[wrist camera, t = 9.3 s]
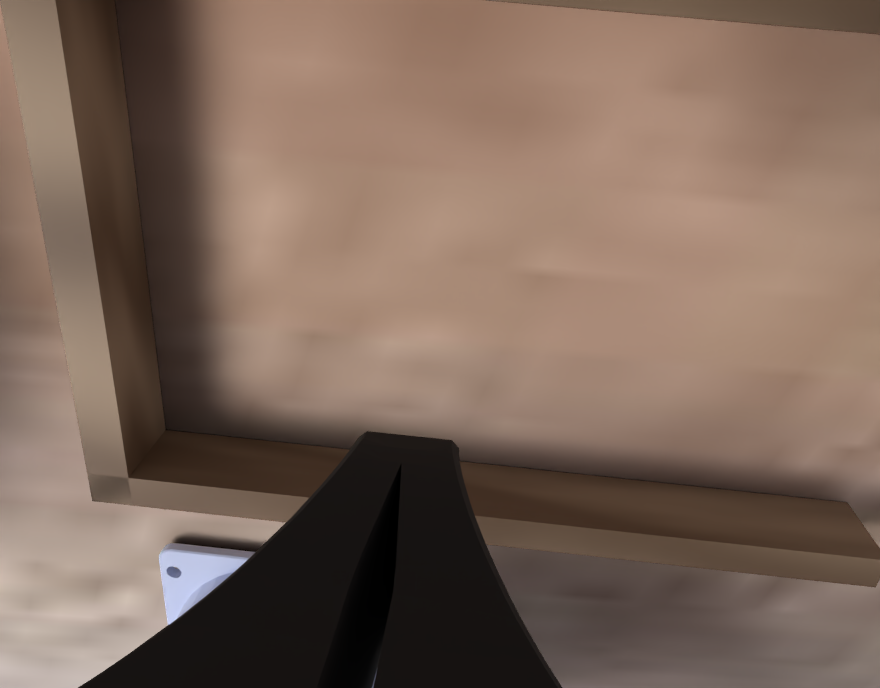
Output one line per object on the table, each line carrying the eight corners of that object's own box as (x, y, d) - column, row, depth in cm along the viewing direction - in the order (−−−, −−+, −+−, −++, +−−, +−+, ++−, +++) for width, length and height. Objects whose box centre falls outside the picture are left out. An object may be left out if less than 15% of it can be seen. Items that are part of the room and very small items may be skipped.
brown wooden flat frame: (836, 527, 22) (875, 586, 20) (132, 451, 23) (92, 500, 20) (1063, -2, 15) (1161, -2, 13) (53, -86, 16) (-19, -102, 14)
